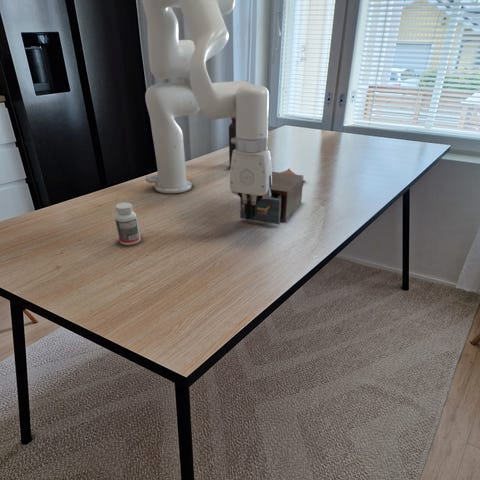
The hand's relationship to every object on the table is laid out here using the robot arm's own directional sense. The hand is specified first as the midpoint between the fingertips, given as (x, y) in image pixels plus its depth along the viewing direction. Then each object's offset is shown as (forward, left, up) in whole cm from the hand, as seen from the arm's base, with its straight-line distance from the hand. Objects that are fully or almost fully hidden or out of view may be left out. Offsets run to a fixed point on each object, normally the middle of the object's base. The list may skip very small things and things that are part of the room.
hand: (250, 217), depth 109 cm
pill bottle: (-32, -4, -5) cm, 33 cm away
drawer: (+5, +10, -4) cm, 12 cm away
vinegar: (-2, +61, -5) cm, 61 cm away
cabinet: (+8, +17, -4) cm, 19 cm away
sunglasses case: (+13, +38, -5) cm, 40 cm away
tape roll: (+5, +11, -2) cm, 13 cm away
